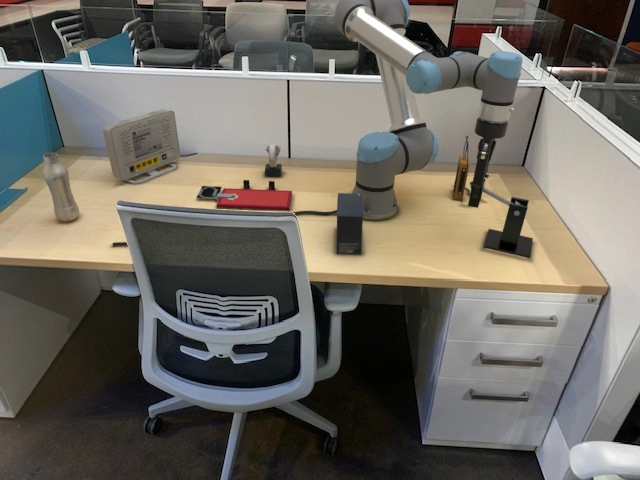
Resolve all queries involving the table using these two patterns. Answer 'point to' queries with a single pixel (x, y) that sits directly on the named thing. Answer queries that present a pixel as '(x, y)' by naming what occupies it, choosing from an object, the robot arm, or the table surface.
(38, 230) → the table surface
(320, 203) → the table surface
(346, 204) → the small box
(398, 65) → the robot arm
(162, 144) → the network device
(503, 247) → the lever base
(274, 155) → the white figurine
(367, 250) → the table surface
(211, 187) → the red board with handle
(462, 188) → the multimeter
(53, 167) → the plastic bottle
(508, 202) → the ball knob joystick
